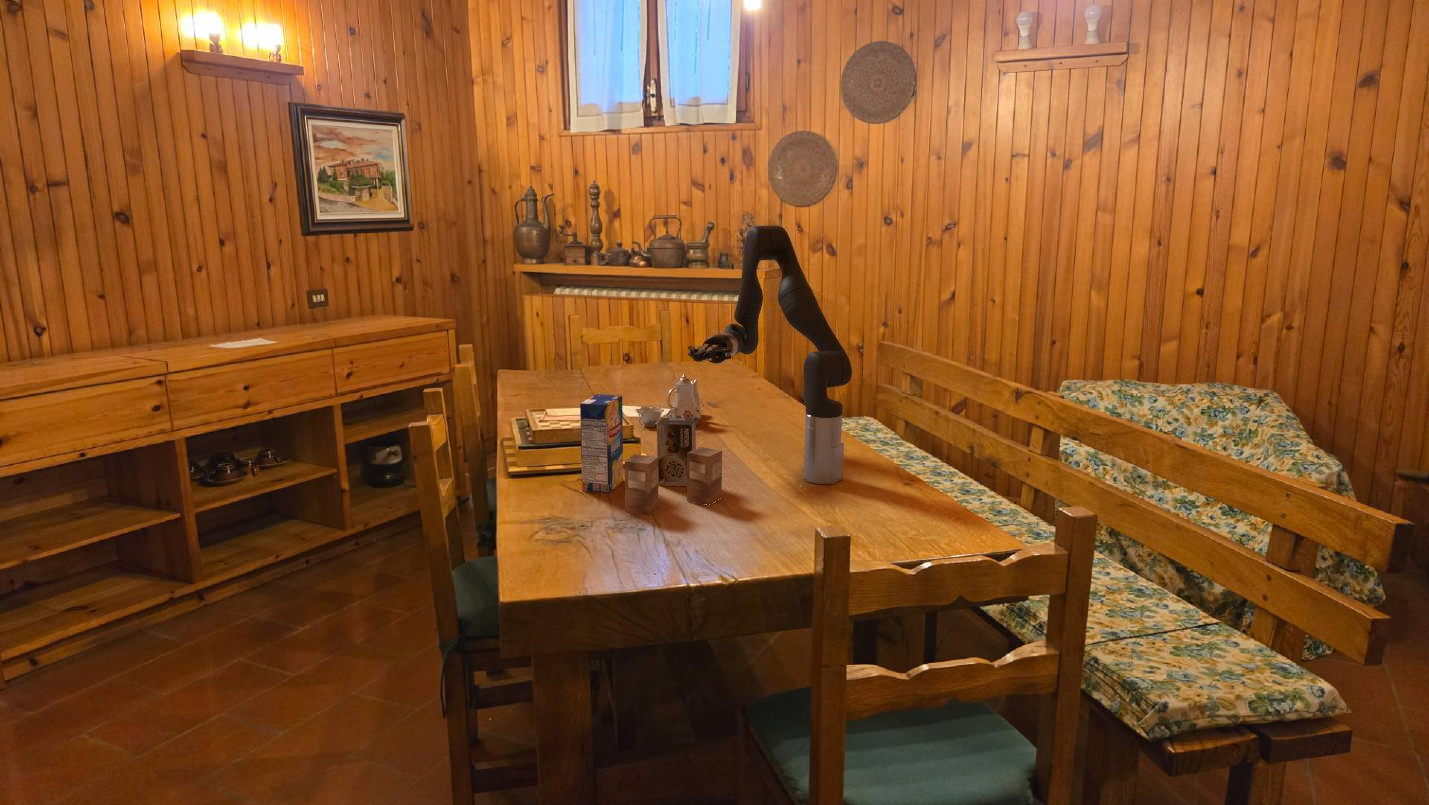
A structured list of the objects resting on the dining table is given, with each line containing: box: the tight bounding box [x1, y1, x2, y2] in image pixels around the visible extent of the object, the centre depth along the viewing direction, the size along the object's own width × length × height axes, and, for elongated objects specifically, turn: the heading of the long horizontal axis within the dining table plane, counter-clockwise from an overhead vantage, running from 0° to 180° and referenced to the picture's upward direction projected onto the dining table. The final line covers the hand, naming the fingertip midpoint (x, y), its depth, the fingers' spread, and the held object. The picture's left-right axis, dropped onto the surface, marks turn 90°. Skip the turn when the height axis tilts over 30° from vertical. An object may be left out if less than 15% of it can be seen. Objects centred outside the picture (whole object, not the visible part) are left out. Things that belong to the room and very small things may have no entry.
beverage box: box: [579, 393, 624, 494], centre depth 231 cm, size 7×11×22 cm, turn 166°
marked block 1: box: [624, 454, 659, 515], centre depth 215 cm, size 6×6×12 cm
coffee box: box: [656, 417, 697, 487], centre depth 234 cm, size 9×6×16 cm
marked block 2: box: [686, 446, 723, 506], centre depth 222 cm, size 6×6×12 cm
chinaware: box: [635, 373, 705, 428], centre depth 295 cm, size 28×17×17 cm, turn 144°
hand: (697, 357), depth 240 cm, fingers closed
